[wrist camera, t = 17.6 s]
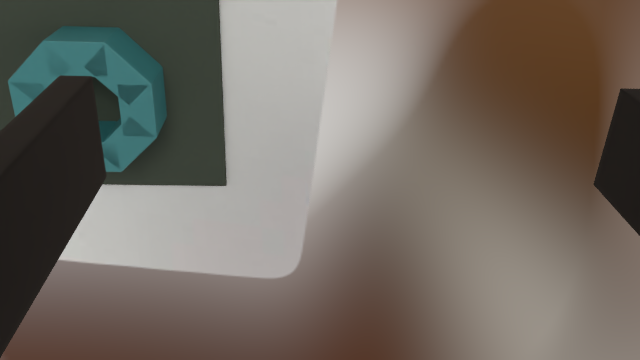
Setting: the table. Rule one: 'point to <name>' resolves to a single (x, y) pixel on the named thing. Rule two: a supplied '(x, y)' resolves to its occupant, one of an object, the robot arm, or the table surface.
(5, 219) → the robot arm
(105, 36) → the ring
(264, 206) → the table surface
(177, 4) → the mat
